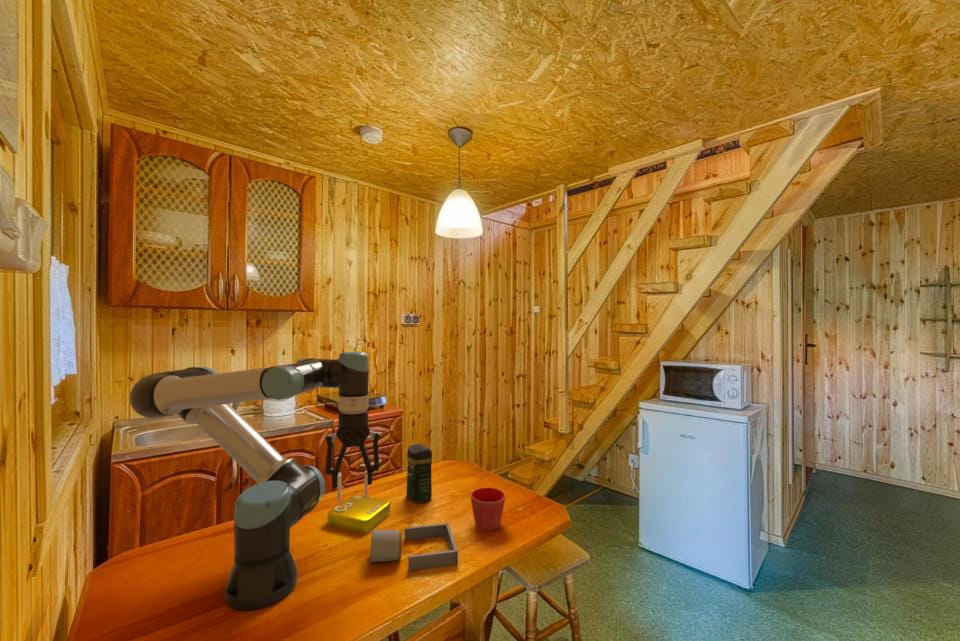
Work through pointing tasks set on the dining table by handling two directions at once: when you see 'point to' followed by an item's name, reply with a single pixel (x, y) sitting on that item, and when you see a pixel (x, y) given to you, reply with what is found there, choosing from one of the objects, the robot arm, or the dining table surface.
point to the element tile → (358, 514)
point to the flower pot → (487, 507)
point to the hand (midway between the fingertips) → (352, 497)
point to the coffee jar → (419, 473)
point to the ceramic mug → (386, 545)
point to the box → (432, 558)
